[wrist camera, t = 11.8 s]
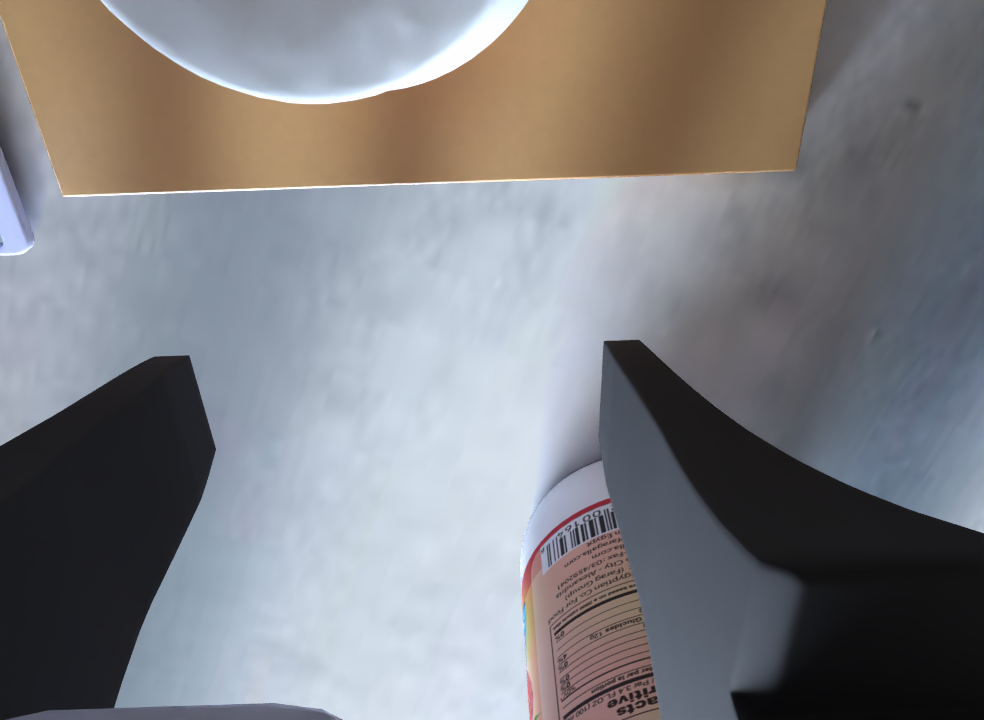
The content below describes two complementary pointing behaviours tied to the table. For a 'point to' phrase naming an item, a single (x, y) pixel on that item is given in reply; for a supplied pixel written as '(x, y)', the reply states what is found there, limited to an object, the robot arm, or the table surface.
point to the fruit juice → (583, 610)
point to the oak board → (435, 103)
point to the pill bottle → (317, 41)
